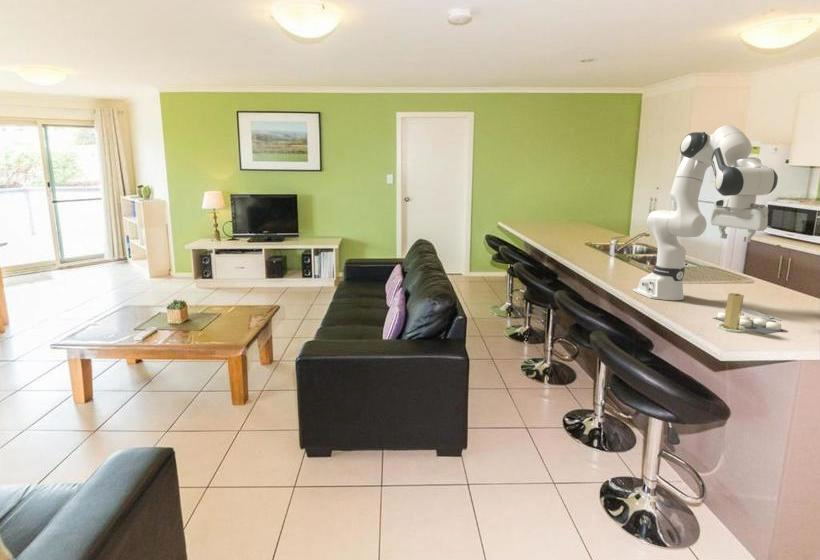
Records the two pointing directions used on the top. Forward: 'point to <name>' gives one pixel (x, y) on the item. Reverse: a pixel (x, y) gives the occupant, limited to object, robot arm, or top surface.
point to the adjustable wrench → (760, 314)
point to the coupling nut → (733, 311)
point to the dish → (730, 329)
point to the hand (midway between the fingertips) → (734, 240)
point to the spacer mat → (758, 329)
